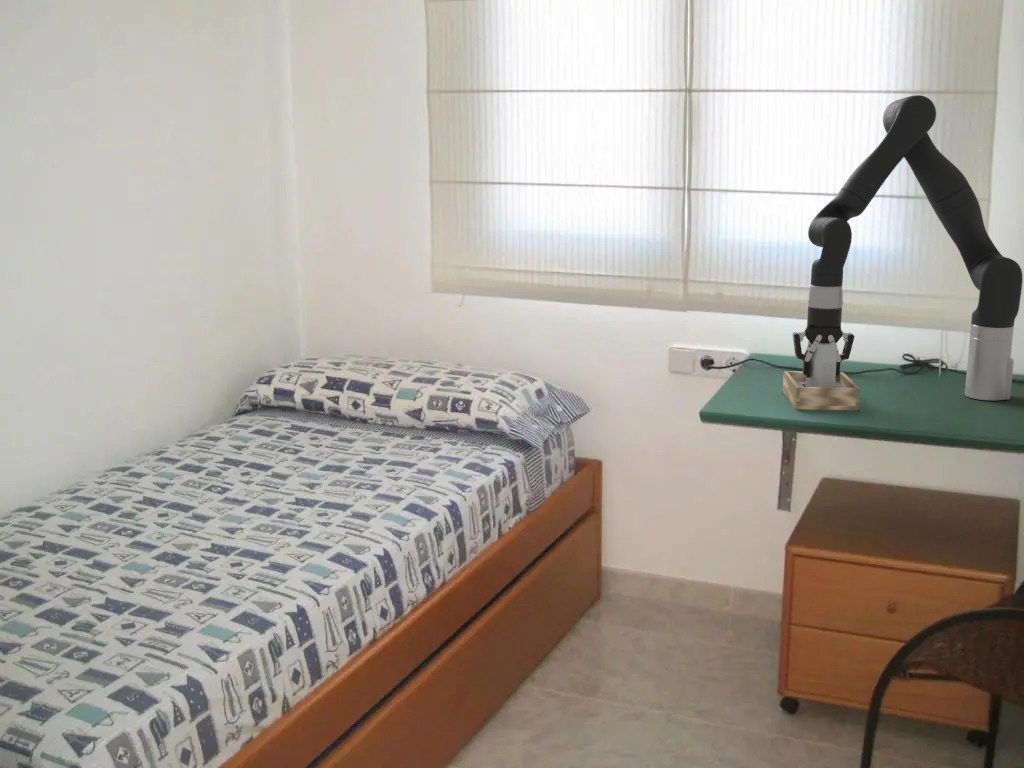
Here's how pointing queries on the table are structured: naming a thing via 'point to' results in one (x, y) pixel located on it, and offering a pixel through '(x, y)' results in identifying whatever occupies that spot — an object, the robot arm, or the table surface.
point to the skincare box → (823, 366)
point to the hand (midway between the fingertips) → (820, 376)
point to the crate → (821, 393)
